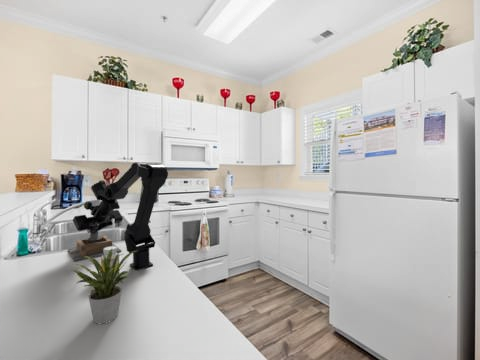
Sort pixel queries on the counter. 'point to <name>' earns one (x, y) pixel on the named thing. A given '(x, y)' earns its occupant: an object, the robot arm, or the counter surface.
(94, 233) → the grey stone pawn figure
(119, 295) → the house plant
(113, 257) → the supplement bottle
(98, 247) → the end holder
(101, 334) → the counter surface
